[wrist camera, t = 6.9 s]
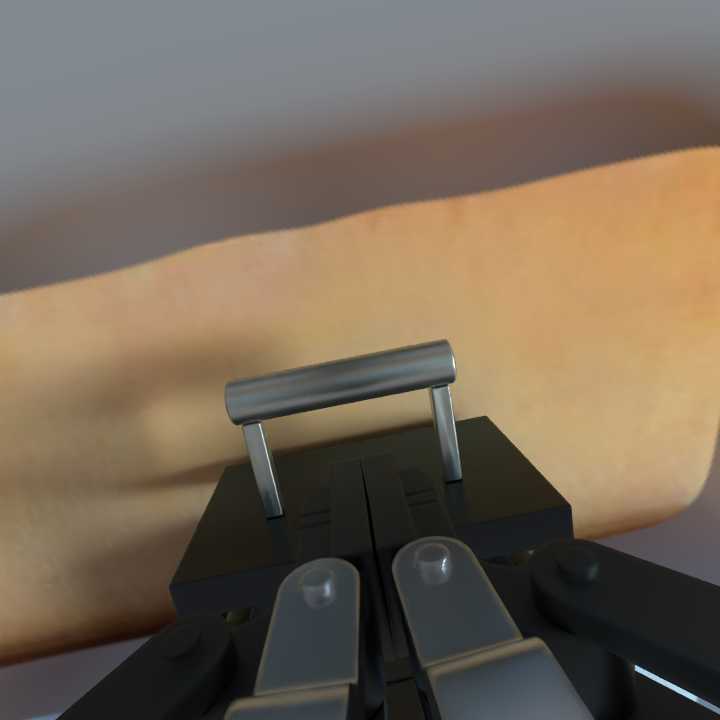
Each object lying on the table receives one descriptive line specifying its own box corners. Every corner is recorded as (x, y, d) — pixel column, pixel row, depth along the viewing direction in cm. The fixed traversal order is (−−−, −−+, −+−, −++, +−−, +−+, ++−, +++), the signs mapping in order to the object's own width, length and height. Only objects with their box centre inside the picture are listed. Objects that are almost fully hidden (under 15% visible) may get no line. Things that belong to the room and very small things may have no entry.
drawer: (195, 361, 19) (114, 429, 12) (473, 307, 19) (558, 342, 12) (289, 696, 23) (271, 897, 16) (516, 648, 23) (599, 826, 16)
